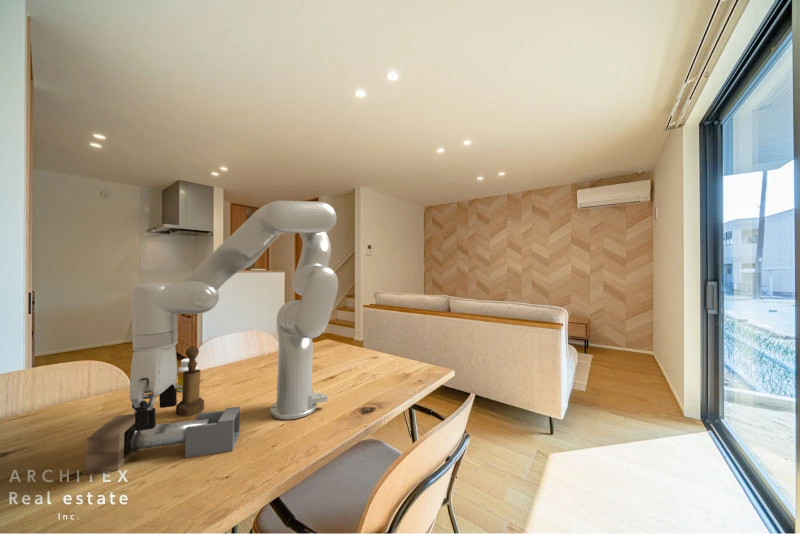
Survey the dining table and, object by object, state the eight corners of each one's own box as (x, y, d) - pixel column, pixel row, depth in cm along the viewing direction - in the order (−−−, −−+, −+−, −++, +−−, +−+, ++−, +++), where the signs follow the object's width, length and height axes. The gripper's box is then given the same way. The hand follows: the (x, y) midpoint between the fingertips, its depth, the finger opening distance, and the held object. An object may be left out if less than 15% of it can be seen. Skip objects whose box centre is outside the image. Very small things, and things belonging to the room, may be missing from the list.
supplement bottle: (189, 392, 95) (190, 362, 95) (172, 391, 95) (174, 361, 95) (200, 385, 100) (201, 357, 100) (185, 385, 100) (186, 357, 100)
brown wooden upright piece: (209, 408, 84) (211, 345, 85) (186, 418, 78) (189, 351, 79) (193, 404, 86) (195, 343, 87) (169, 414, 80) (172, 348, 81)
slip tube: (210, 434, 69) (211, 413, 69) (203, 447, 64) (203, 423, 64) (120, 445, 64) (121, 422, 64) (104, 460, 59) (105, 434, 59)
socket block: (142, 444, 66) (144, 413, 66) (117, 470, 58) (119, 434, 58) (115, 447, 65) (116, 415, 65) (85, 474, 56) (87, 437, 56)
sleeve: (239, 435, 71) (240, 406, 71) (232, 451, 65) (233, 419, 65) (196, 440, 68) (197, 410, 69) (184, 457, 62) (186, 425, 62)
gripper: (155, 332, 71) (157, 401, 71) (108, 352, 54) (110, 443, 55) (191, 329, 73) (193, 397, 73) (156, 348, 56) (158, 436, 57)
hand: (157, 417), depth 64 cm, fingers open, 9 cm apart
